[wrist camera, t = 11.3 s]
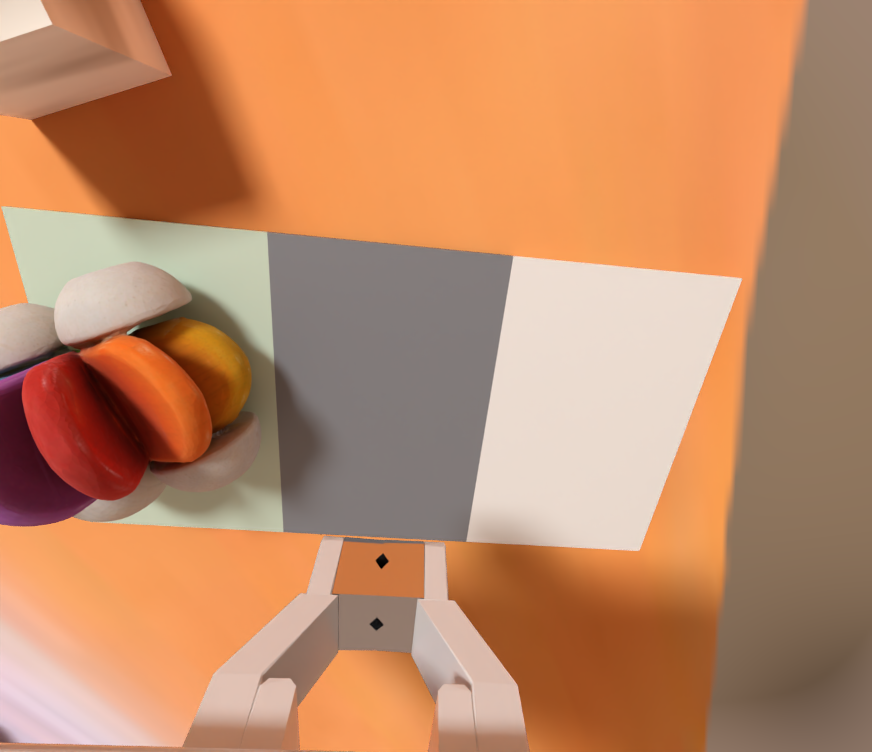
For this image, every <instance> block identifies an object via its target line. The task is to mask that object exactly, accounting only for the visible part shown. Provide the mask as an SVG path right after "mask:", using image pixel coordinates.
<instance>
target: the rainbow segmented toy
mask: <svg viewBox="0 0 872 752" xmlns="http://www.w3.org/2000/svg"><path fill="white" fill-rule="evenodd" d="M191 300H192V296H191V293H190V292H189V291H188V290H187V289H186V287H185V286H184V285H183V284H182V283H181V282H179V281H178V280H177V279H176V278H175V277H173V276H172V275H171V274H169V273H167V272H166V271H164V270H162V269H160V268H157V267H155V266H152V265H149V264H146V263H142V262H128V263H123V264H118V265H115V266H111V267H108V268H104V269H100V270H97V271H94V272H91V273H87V274H85V275H82V276H79V277H76V278H74V279H71V280H70V281H69V282H67V283H66V285H65V286H64V287H63V289H62V291H61V292H60V294H59V296H58V298H57V301H56V303H55V309H54V308H51V307H47V306H43V305H38V304H32V303H21V304H16V305H12V306H8V307H4V308H1V309H0V524H2V525H10V526H38V525H46V524H51V523H56V522H59V521H62V520H65V519H68V518H70V517H75V518H78V519H81V520H85V521H91V522H108V521H115V520H120V519H123V518H126V517H129V516H131V515H133V514H135V513H137V512H139V511H141V510H142V509H144V508H145V507H147V506H148V505H149V504H151V503H152V502H153V501H155V500H156V499H157V498H158V497H159V496H160V495H161V493H162V492H163V491H164V489H165V488H166V486H167V485H168V486H170V487H173V488H175V489H178V490H181V491H187V492H206V491H212V490H216V489H219V488H222V487H224V486H226V485H228V484H230V483H232V482H233V481H235V480H236V479H238V478H239V477H240V476H242V475H243V474H244V473H245V472H246V471H247V470H248V469H249V467H250V466H251V465H252V463H253V462H254V460H255V458H256V456H257V454H258V451H259V448H260V444H261V426H260V422H259V419H258V416H257V415H256V414H255V413H253V412H248V411H241V409H242V408H243V406H244V404H245V403H246V401H247V398H248V396H249V393H250V390H251V384H252V373H251V367H250V363H249V360H248V357H247V356H246V355H245V353H244V352H243V351H242V349H241V348H240V347H239V345H238V344H237V343H236V342H235V341H233V340H232V339H231V338H230V337H229V336H228V335H226V334H225V333H223V332H222V331H220V330H219V329H217V328H216V327H214V326H212V325H209V324H206V323H203V322H200V321H196V320H193V319H187V318H185V317H177V318H173V319H170V320H167V321H163V322H160V323H157V324H155V325H151V326H147V327H143V328H140V329H137V330H135V331H133V332H132V333H130V334H128V335H127V332H128V331H129V330H131V329H132V328H134V327H136V326H137V325H139V324H140V323H141V322H144V321H147V320H150V319H153V318H156V317H159V316H161V315H163V314H165V313H167V312H169V311H172V310H174V309H177V308H179V307H181V306H183V305H185V304H187V303H189V302H190V301H191ZM68 346H71V347H73V348H75V349H79V350H71V349H69V348H68ZM80 350H81V351H80Z"/></svg>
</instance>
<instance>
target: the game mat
mask: <svg viewBox="0 0 872 752" xmlns="http://www.w3.org/2000/svg"><path fill="white" fill-rule="evenodd" d="M2 211H3V214H4V218H5V221H6V225H7V228H8V232H9V235H10V239H11V243H12V246H13V250H14V253H15V257H16V260H17V264H18V267H19V271H20V275H21V278H22V282H23V285H24V289H25V292H26V296H27V299H28V303H32V304H38V305H43V306H47V307H51V308H54V309H55V303H56V301H57V298H58V296H59V294H60V292H61V291H62V289H63V287H64V286H65V285H66V283H67V282H69V281H70V280H71V279H74V278H76V277H79V276H82V275H85V274H87V273H91V272H94V271H97V270H100V269H104V268H108V267H111V266H115V265H118V264H123V263H128V262H142V263H146V264H149V265H152V266H155V267H157V268H160V269H162V270H164V271H166V272H167V273H169V274H171V275H172V276H173V277H175V278H176V279H177V280H178V281H179V282H181V283H182V284H183V285H184V286H185V287H186V289H187V290H188V291H189V292H190V293H191V296H192V300H191V301H190V302H189V303H187V304H185V305H183V306H181V307H179V308H177V309H174V310H172V311H169V312H167V313H165V314H163V315H161V316H159V317H156V318H153V319H150V320H147V321H144V322H141V323H140V324H139V325H137V326H136V327H134V328H132V329H131V330H129V331H128V332H127V335H128V334H130V333H132V332H133V331H135V330H137V329H140V328H143V327H147V326H151V325H155V324H157V323H160V322H163V321H167V320H170V319H173V318H177V317H185V318H187V319H193V320H196V321H200V322H203V323H206V324H209V325H212V326H214V327H216V328H217V329H219V330H220V331H222V332H223V333H225V334H226V335H228V336H229V337H230V338H231V339H232V340H233V341H235V342H236V343H237V344H238V345H239V347H240V348H241V349H242V351H243V352H244V353H245V355H246V356H247V357H248V360H249V363H250V367H251V373H252V384H251V390H250V393H249V396H248V398H247V401H246V403H245V404H244V406H243V408H242V409H241V411H248V412H253V413H255V414H256V415H257V416H258V419H259V422H260V426H261V444H260V448H259V451H258V454H257V456H256V458H255V460H254V462H253V463H252V465H251V466H250V467H249V469H248V470H247V471H246V472H245V473H244V474H243V475H242V476H240V477H239V478H238V479H236V480H235V481H233V482H232V483H230V484H228V485H226V486H224V487H222V488H219V489H216V490H212V491H206V492H187V491H181V490H178V489H175V488H173V487H170V486H168V485H167V486H166V488H165V489H164V491H163V492H162V493H161V495H160V496H159V497H158V498H157V499H156V500H155V501H153V502H152V503H151V504H149V505H148V506H147V507H145V508H144V509H142V510H141V511H139V512H137V513H135V514H133V515H131V516H129V517H126V518H123V519H120V520H115V521H108V522H104V523H122V524H141V525H160V526H179V527H198V528H217V529H236V530H255V531H273V532H292V533H311V534H330V535H349V536H368V537H387V538H406V539H424V540H443V541H462V542H481V543H500V544H519V545H538V546H557V547H575V548H594V549H613V550H632V551H639V550H640V548H641V545H642V542H643V540H644V537H645V535H646V532H647V529H648V527H649V524H650V521H651V519H652V516H653V513H654V511H655V508H656V505H657V503H658V500H659V498H660V495H661V492H662V490H663V487H664V484H665V482H666V479H667V476H668V474H669V471H670V468H671V466H672V463H673V460H674V458H675V455H676V453H677V450H678V447H679V445H680V442H681V439H682V437H683V434H684V431H685V429H686V426H687V423H688V421H689V418H690V416H691V413H692V410H693V408H694V405H695V402H696V400H697V397H698V394H699V392H700V389H701V386H702V384H703V381H704V378H705V376H706V373H707V371H708V368H709V365H710V363H711V360H712V357H713V355H714V352H715V349H716V347H717V344H718V341H719V339H720V336H721V334H722V331H723V328H724V326H725V323H726V320H727V318H728V315H729V312H730V310H731V307H732V304H733V302H734V299H735V297H736V294H737V291H738V289H739V286H740V283H741V281H742V279H741V278H736V277H726V276H715V275H705V274H695V273H685V272H674V271H664V270H654V269H644V268H633V267H623V266H613V265H603V264H592V263H582V262H572V261H562V260H551V259H541V258H531V257H521V256H510V255H500V254H490V253H480V252H469V251H459V250H449V249H439V248H428V247H418V246H408V245H398V244H387V243H377V242H367V241H357V240H346V239H336V238H326V237H316V236H306V235H295V234H285V233H275V232H265V231H254V230H244V229H234V228H224V227H213V226H203V225H193V224H183V223H172V222H162V221H152V220H142V219H131V218H121V217H111V216H101V215H90V214H80V213H70V212H60V211H49V210H39V209H29V208H19V207H8V206H3V207H2ZM68 348H69V349H71V350H79V349H75V348H73V347H71V346H68ZM80 351H81V350H80ZM90 522H91V521H90Z"/></svg>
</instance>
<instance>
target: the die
mask: <svg viewBox="0 0 872 752" xmlns="http://www.w3.org/2000/svg"><path fill="white" fill-rule="evenodd" d="M170 76H172V74H171V72H170V69H169V67H168V65H167V62H166V60H165V58H164V55H163V53H162V51H161V48H160V46H159V43H158V41H157V39H156V36H155V34H154V32H153V29H152V27H151V24H150V22H149V20H148V17H147V15H146V13H145V10H144V8H143V5H142V3H141V1H140V0H0V115H4V116H11V117H17V118H23V119H29V120H32V119H35V118H38V117H42V116H45V115H48V114H51V113H54V112H58V111H61V110H64V109H67V108H70V107H74V106H77V105H80V104H83V103H86V102H90V101H93V100H96V99H99V98H102V97H106V96H109V95H112V94H115V93H118V92H122V91H125V90H128V89H131V88H134V87H138V86H141V85H144V84H147V83H150V82H154V81H157V80H160V79H163V78H166V77H170Z"/></svg>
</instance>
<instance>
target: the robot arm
mask: <svg viewBox="0 0 872 752" xmlns="http://www.w3.org/2000/svg"><path fill="white" fill-rule="evenodd" d="M338 650H377V651H391V652H406V653H411V655H412V657H413V659H414V661H415V663H416V665H417V667H418V669H419V671H420V673H421V675H422V677H423V680H424V682H425V684H426V686H427V688H428V690H429V692H430V694H431V696H432V698H433V700H434V702H435V704H436V707H435V712H434V718H433V724H432V730H431V736H430V742H429V748H428V752H530V751H529V746H528V740H527V734H526V729H525V723H524V718H523V712H522V707H521V701H520V696H519V690H518V685H517V684H516V682H515V681H514V680H513V678H512V677H511V676H510V674H509V673H508V672H507V670H506V669H505V668H504V666H503V665H502V664H501V662H500V661H499V660H498V658H497V657H496V655H495V654H494V653H493V651H492V650H491V649H490V647H489V646H488V645H487V643H486V642H485V641H484V639H483V638H482V637H481V635H480V634H479V633H478V631H477V630H476V629H475V627H474V626H473V625H472V623H471V622H470V621H469V619H468V618H467V617H466V615H465V614H464V613H463V611H462V610H461V609H460V607H459V606H458V604H457V603H456V602H455V601H453V600H448V582H447V564H446V546H445V544H444V543H441V542H421V541H398V540H374V539H362V538H350V537H332V536H324V537H323V539H322V541H321V544H320V548H319V551H318V555H317V558H316V562H315V565H314V569H313V572H312V576H311V579H310V583H309V586H308V590H307V593H300V594H299V595H298V596H297V597H296V598H295V599H293V600H292V601H291V602H290V603H289V604H288V605H287V606H286V607H285V608H284V609H283V610H282V611H281V612H279V613H278V614H277V615H276V616H275V617H274V618H273V619H272V620H271V621H270V622H269V623H268V624H267V625H265V626H264V627H263V628H262V629H261V630H260V631H259V632H258V633H257V634H256V635H255V636H254V637H253V638H251V639H250V640H249V641H248V642H247V643H246V644H245V645H244V646H243V647H242V648H241V649H240V650H239V651H237V652H236V653H235V654H234V655H233V656H232V657H231V658H230V659H229V660H228V661H227V662H226V663H225V664H223V665H222V666H221V667H220V668H219V669H218V670H217V671H216V672H215V673H214V674H213V676H212V679H211V681H210V683H209V686H208V688H207V690H206V693H205V695H204V697H203V700H202V702H201V705H200V707H199V709H198V712H197V714H196V716H195V719H194V721H193V723H192V726H191V728H190V730H189V733H188V735H187V737H186V740H185V742H184V744H183V747H152V746H112V745H72V744H32V743H0V752H353V751H312V750H300V743H299V726H298V709H297V707H298V706H299V704H300V703H301V702H302V700H303V699H304V698H305V696H306V695H307V694H308V692H309V691H310V689H311V688H312V687H313V685H314V684H315V683H316V681H317V680H318V679H319V677H320V676H321V675H322V673H323V672H324V671H325V669H326V668H327V667H328V665H329V664H330V663H331V661H332V660H333V659H334V657H335V656H336V654H337V653H338Z"/></svg>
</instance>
